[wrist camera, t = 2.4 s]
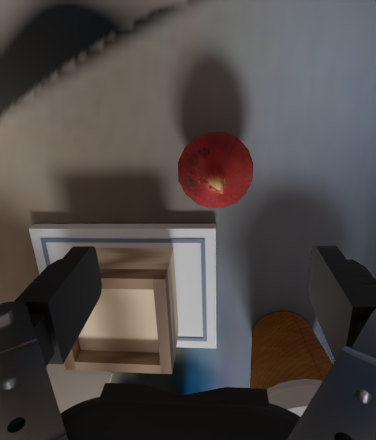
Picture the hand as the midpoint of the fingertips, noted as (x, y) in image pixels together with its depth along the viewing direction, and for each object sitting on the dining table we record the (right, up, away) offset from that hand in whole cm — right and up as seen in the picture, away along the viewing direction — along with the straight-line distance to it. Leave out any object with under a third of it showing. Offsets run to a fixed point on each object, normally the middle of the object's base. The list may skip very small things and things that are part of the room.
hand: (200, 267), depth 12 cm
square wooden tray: (-7, -6, +21) cm, 23 cm away
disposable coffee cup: (+10, -11, +23) cm, 27 cm away
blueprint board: (-7, -5, +22) cm, 24 cm away
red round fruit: (+2, +7, +17) cm, 19 cm away
